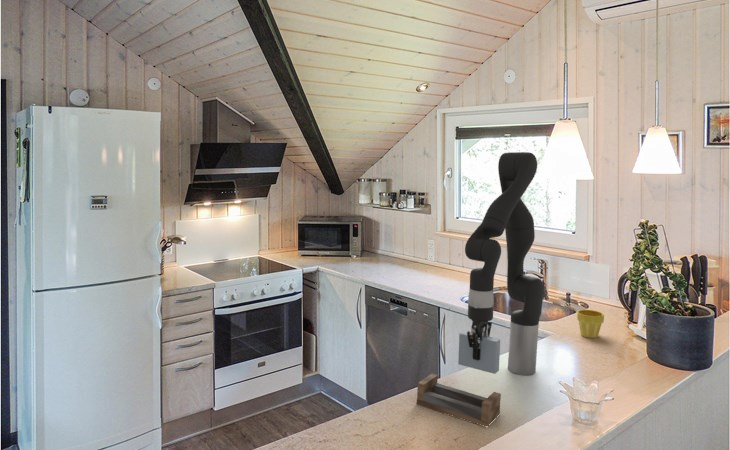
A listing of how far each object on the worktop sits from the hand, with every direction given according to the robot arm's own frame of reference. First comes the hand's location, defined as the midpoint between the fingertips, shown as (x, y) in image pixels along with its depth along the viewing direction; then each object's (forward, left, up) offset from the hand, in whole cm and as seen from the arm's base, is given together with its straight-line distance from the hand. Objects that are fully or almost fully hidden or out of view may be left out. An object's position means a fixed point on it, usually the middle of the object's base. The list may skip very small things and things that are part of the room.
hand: (478, 357), depth 160 cm
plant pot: (-81, +15, -12) cm, 83 cm away
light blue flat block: (0, 0, -3) cm, 3 cm away
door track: (+13, 0, -12) cm, 18 cm away
